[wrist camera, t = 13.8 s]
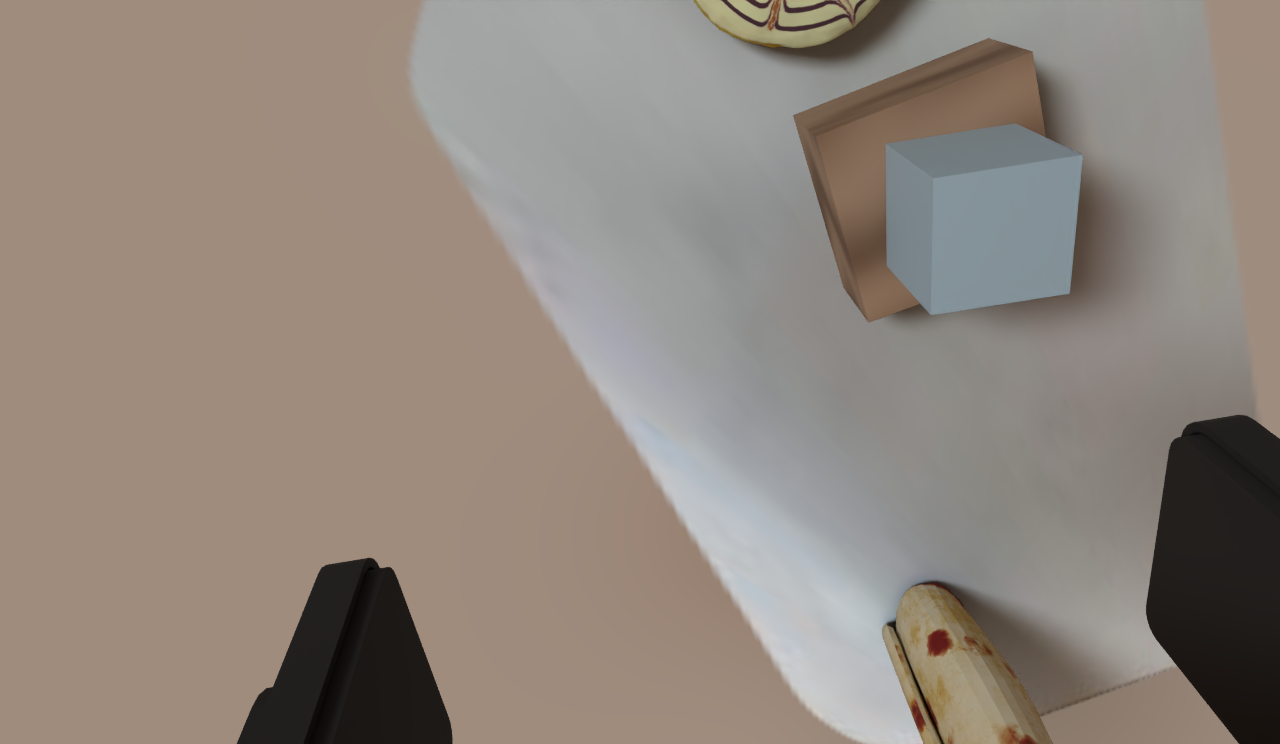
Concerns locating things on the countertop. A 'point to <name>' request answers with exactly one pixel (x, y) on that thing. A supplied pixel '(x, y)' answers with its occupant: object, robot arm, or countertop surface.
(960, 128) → the walnut block
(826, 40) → the decorated donut
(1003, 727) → the food model
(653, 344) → the countertop surface
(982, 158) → the slate cube
